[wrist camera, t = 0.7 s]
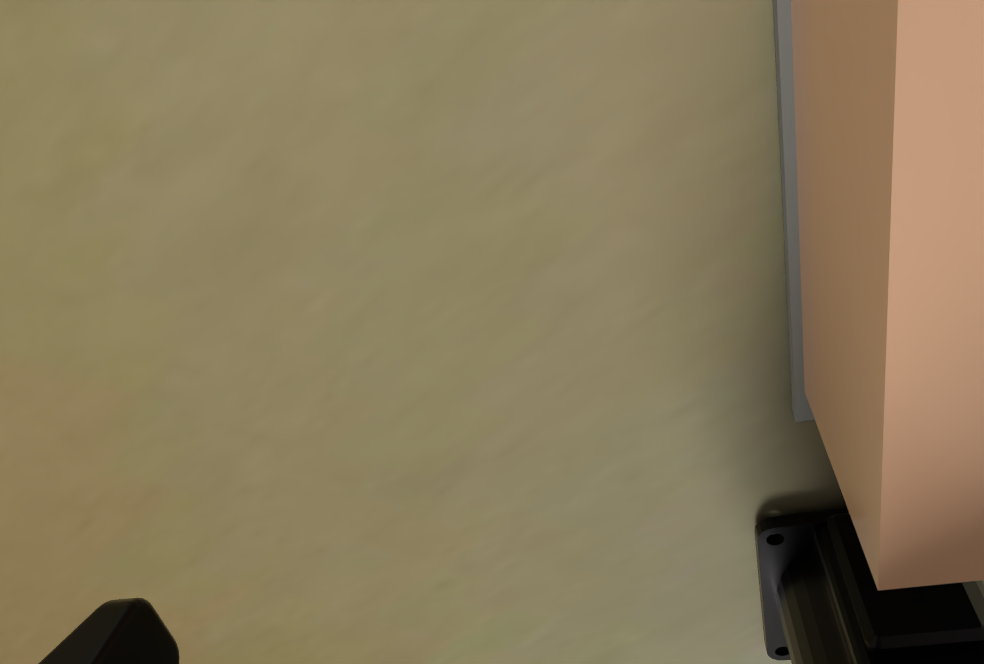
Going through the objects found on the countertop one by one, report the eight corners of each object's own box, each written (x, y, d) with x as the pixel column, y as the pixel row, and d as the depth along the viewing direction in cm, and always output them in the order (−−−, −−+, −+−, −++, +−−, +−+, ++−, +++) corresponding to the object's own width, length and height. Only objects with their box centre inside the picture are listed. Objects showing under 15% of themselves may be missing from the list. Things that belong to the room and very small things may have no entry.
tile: (915, 376, 21) (1023, 576, 16) (804, 392, 22) (877, 590, 17) (948, -169, 14) (1147, -101, 10) (785, -129, 15) (899, -46, 10)
